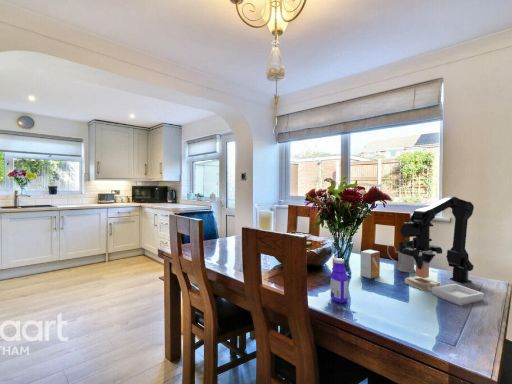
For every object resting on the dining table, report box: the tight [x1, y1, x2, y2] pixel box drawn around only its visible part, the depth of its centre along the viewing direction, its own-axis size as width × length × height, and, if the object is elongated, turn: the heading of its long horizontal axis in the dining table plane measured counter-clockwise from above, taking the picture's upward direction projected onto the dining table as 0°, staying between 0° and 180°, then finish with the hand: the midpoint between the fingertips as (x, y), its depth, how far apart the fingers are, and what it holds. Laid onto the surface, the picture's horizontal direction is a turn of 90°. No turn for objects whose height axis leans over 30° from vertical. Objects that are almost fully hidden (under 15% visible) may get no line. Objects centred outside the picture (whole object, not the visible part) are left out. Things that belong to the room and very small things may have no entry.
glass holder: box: [386, 241, 416, 273], centre depth 156 cm, size 9×14×15 cm, turn 71°
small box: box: [359, 249, 381, 279], centre depth 145 cm, size 8×6×13 cm
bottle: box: [330, 257, 349, 304], centre depth 115 cm, size 7×6×17 cm
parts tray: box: [431, 283, 485, 306], centre depth 117 cm, size 14×12×3 cm
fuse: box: [415, 261, 430, 279], centre depth 130 cm, size 3×5×7 cm
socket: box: [404, 275, 442, 292], centre depth 130 cm, size 9×11×2 cm
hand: (422, 268), depth 130 cm, fingers closed on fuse, 3 cm apart
